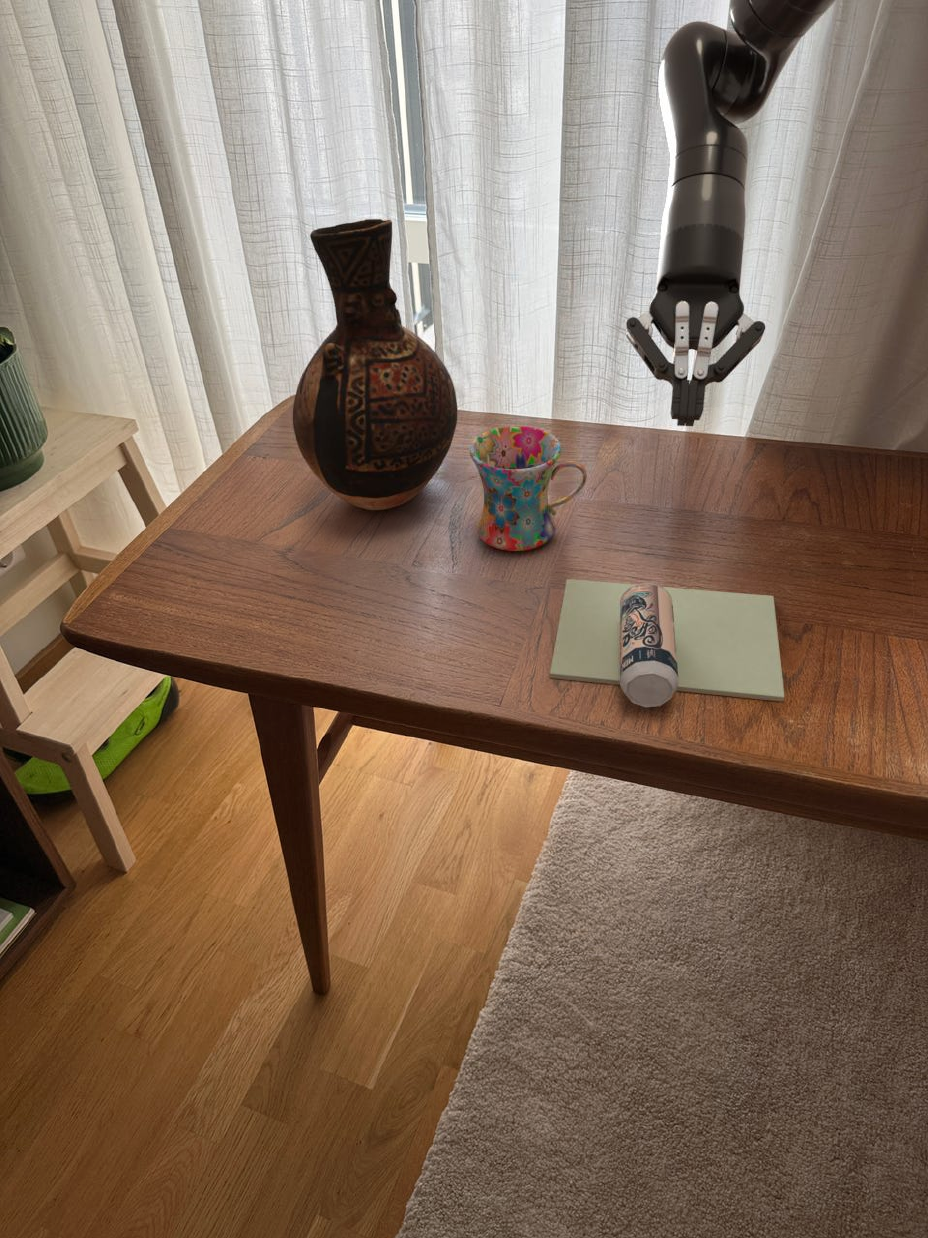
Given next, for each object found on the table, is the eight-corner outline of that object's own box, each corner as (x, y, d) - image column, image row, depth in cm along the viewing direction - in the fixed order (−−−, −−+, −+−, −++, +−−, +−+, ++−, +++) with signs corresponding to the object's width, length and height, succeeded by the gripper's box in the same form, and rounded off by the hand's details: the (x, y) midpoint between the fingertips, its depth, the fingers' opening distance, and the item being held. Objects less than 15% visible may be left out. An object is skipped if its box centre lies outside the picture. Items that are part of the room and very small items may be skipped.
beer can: (646, 570, 80) (649, 660, 71) (683, 599, 81) (691, 690, 72) (608, 600, 83) (607, 690, 74) (645, 627, 84) (649, 719, 75)
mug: (465, 555, 94) (461, 467, 87) (482, 507, 101) (479, 423, 94) (579, 564, 92) (583, 475, 85) (587, 515, 99) (592, 429, 92)
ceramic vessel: (412, 554, 94) (383, 267, 75) (274, 523, 100) (214, 249, 81) (487, 460, 109) (479, 199, 90) (363, 438, 115) (330, 189, 96)
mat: (772, 600, 86) (773, 595, 85) (783, 702, 75) (784, 697, 75) (566, 583, 89) (566, 578, 89) (549, 678, 79) (549, 673, 79)
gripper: (630, 219, 80) (612, 406, 78) (783, 220, 77) (768, 413, 76) (628, 260, 87) (612, 432, 86) (768, 262, 85) (754, 439, 83)
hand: (685, 423), depth 81 cm, fingers closed
